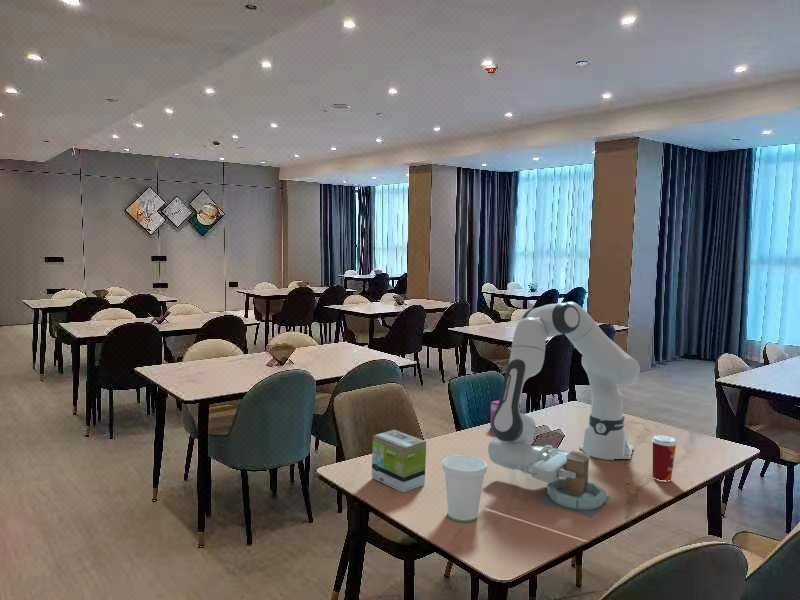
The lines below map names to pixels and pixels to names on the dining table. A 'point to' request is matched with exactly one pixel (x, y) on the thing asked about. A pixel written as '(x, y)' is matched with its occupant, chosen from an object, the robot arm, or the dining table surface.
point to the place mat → (583, 512)
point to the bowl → (576, 496)
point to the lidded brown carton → (581, 466)
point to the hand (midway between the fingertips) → (580, 472)
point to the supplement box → (493, 408)
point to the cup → (463, 486)
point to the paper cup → (663, 456)
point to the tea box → (399, 460)
